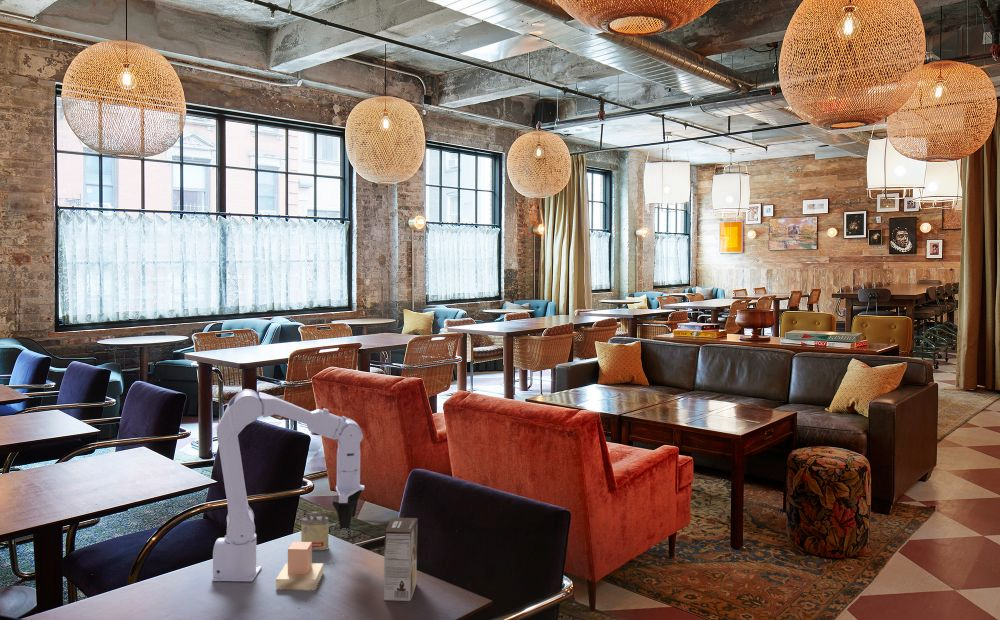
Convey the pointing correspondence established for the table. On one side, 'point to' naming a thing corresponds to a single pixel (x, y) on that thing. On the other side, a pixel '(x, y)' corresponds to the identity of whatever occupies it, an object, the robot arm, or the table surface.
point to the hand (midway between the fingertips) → (347, 522)
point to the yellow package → (315, 530)
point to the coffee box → (400, 559)
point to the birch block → (300, 578)
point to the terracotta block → (299, 557)
